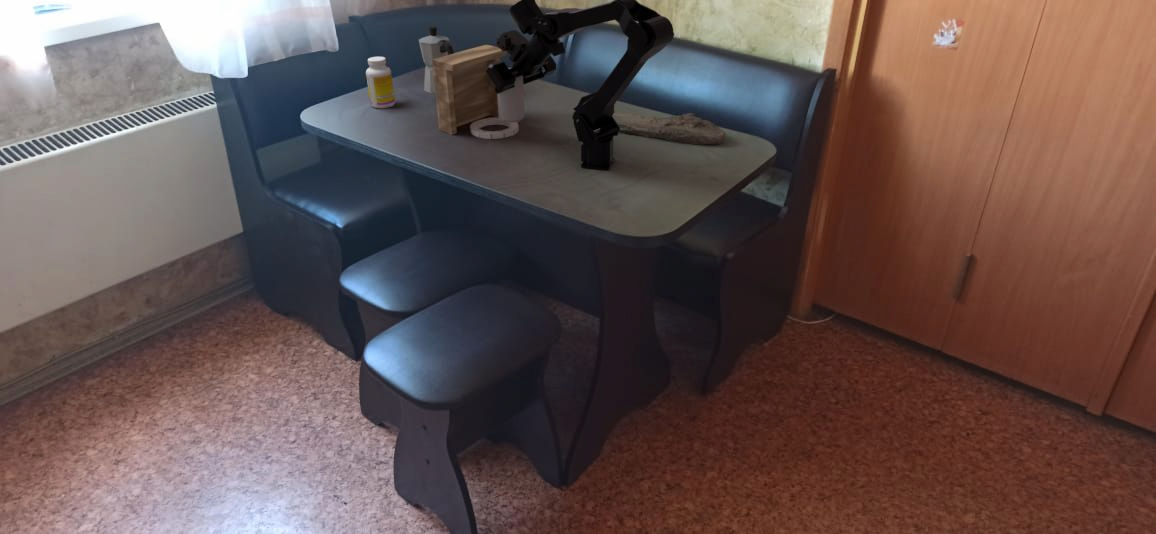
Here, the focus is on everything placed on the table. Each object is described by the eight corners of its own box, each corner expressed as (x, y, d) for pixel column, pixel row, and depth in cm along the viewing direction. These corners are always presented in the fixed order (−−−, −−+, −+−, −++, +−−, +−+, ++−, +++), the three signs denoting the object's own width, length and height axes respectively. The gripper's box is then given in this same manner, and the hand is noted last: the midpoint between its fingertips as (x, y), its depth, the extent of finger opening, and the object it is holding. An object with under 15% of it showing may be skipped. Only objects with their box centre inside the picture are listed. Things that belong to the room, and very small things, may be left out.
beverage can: (513, 125, 188) (511, 77, 182) (493, 119, 191) (490, 71, 185) (529, 117, 193) (528, 70, 186) (510, 111, 196) (508, 64, 189)
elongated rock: (601, 121, 207) (585, 136, 200) (600, 102, 204) (584, 116, 197) (730, 135, 193) (718, 151, 185) (731, 114, 190) (718, 130, 182)
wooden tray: (509, 117, 205) (506, 49, 196) (458, 136, 194) (452, 65, 185) (490, 111, 210) (486, 44, 200) (439, 130, 198) (432, 59, 189)
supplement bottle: (400, 103, 216) (394, 57, 209) (383, 110, 211) (376, 63, 205) (382, 99, 219) (376, 54, 212) (365, 106, 214) (358, 59, 208)
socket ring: (524, 124, 201) (524, 119, 200) (508, 140, 191) (508, 136, 191) (481, 120, 204) (481, 115, 203) (463, 136, 194) (462, 131, 193)
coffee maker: (414, 88, 228) (406, 25, 219) (439, 81, 233) (433, 20, 224) (443, 100, 218) (436, 35, 209) (468, 93, 224) (463, 29, 214)
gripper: (546, 13, 183) (515, 53, 195) (488, 29, 171) (459, 69, 183) (571, 53, 183) (539, 89, 195) (516, 70, 171) (484, 109, 183)
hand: (506, 88), depth 189 cm, fingers closed on beverage can, 6 cm apart
